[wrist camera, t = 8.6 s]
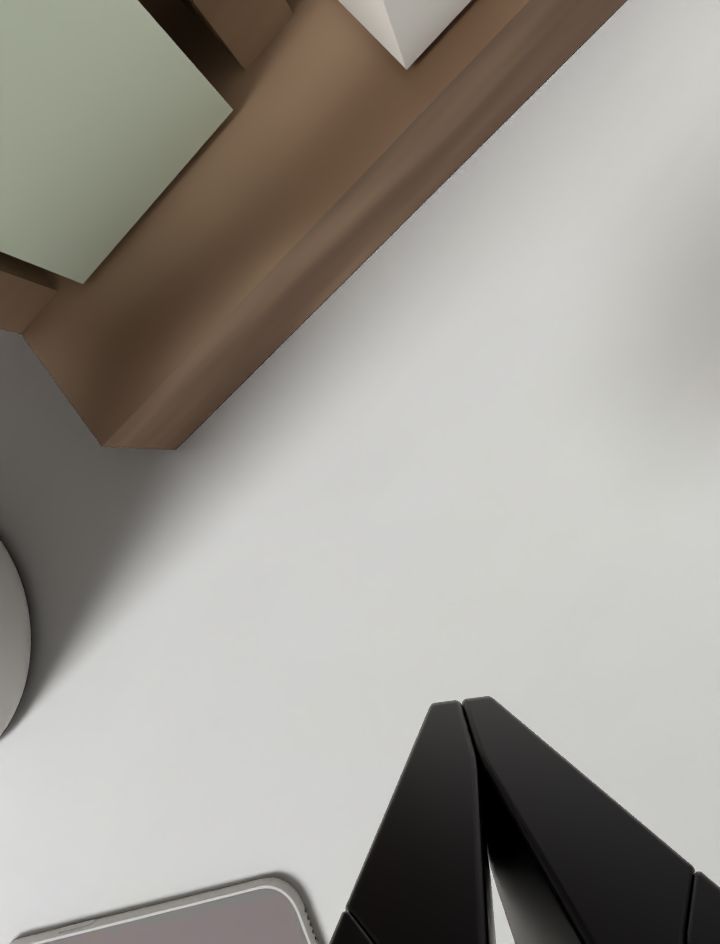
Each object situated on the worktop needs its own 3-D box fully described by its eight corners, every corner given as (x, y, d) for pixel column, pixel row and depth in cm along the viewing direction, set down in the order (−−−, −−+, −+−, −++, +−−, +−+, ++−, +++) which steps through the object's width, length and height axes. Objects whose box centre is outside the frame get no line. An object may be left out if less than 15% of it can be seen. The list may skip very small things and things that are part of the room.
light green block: (233, 110, 17) (26, -128, 10) (83, 283, 19) (-182, 179, 12) (119, -18, 18) (-136, -310, 11) (-14, 157, 20) (-308, -7, 13)
